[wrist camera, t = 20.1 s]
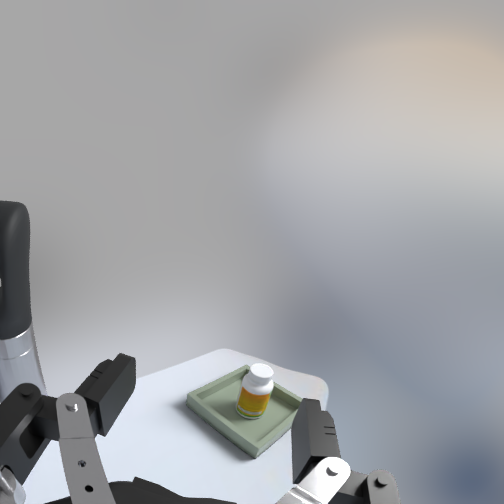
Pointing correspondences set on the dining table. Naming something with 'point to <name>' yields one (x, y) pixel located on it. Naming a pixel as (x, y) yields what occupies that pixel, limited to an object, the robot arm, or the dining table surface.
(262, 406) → the supplement bottle
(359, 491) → the robot arm
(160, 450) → the dining table surface
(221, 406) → the tray
